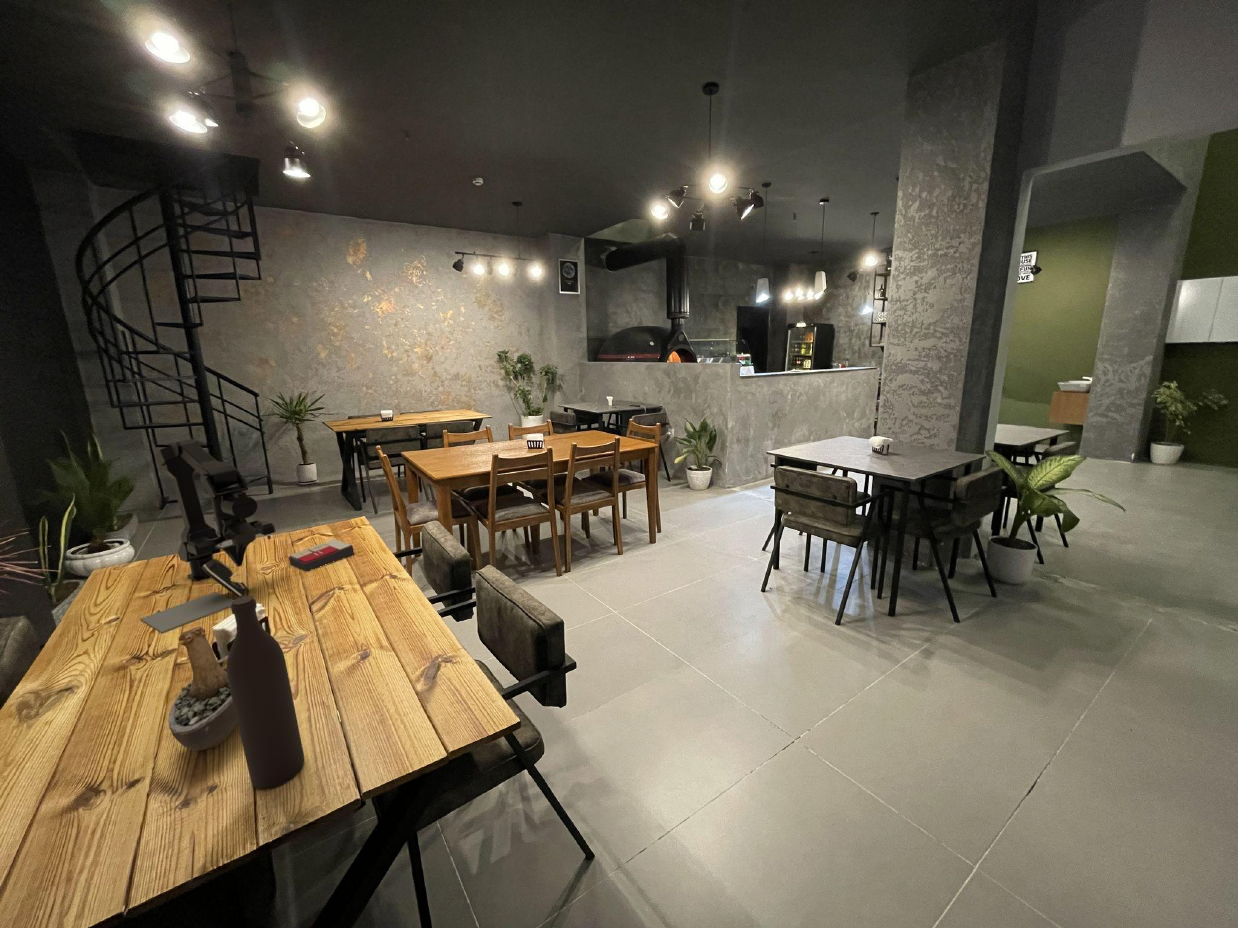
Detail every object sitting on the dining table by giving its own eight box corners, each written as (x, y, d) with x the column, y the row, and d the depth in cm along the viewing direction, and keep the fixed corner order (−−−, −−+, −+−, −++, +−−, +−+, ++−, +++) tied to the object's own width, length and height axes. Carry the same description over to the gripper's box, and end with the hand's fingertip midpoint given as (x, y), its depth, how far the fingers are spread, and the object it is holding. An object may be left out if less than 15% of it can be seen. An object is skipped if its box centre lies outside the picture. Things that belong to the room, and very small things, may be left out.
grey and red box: (287, 554, 155) (335, 537, 167) (290, 567, 156) (337, 548, 168) (304, 562, 149) (352, 543, 161) (307, 574, 150) (355, 555, 163)
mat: (140, 619, 124) (140, 618, 124) (215, 592, 138) (215, 591, 138) (162, 633, 118) (161, 631, 118) (238, 603, 132) (238, 602, 131)
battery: (252, 588, 136) (219, 561, 130) (239, 598, 134) (204, 572, 128) (245, 580, 141) (213, 555, 134) (233, 591, 139) (199, 565, 132)
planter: (246, 689, 97) (226, 597, 93) (291, 719, 89) (271, 620, 85) (149, 740, 85) (120, 637, 80) (190, 780, 77) (161, 668, 72)
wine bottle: (301, 747, 83) (268, 584, 76) (309, 773, 77) (275, 600, 71) (249, 770, 78) (210, 599, 71) (254, 800, 73) (212, 618, 66)
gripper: (200, 528, 121) (213, 586, 124) (281, 506, 137) (290, 558, 140) (180, 521, 126) (193, 577, 130) (260, 501, 142) (270, 551, 146)
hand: (239, 565), depth 136 cm, fingers closed
